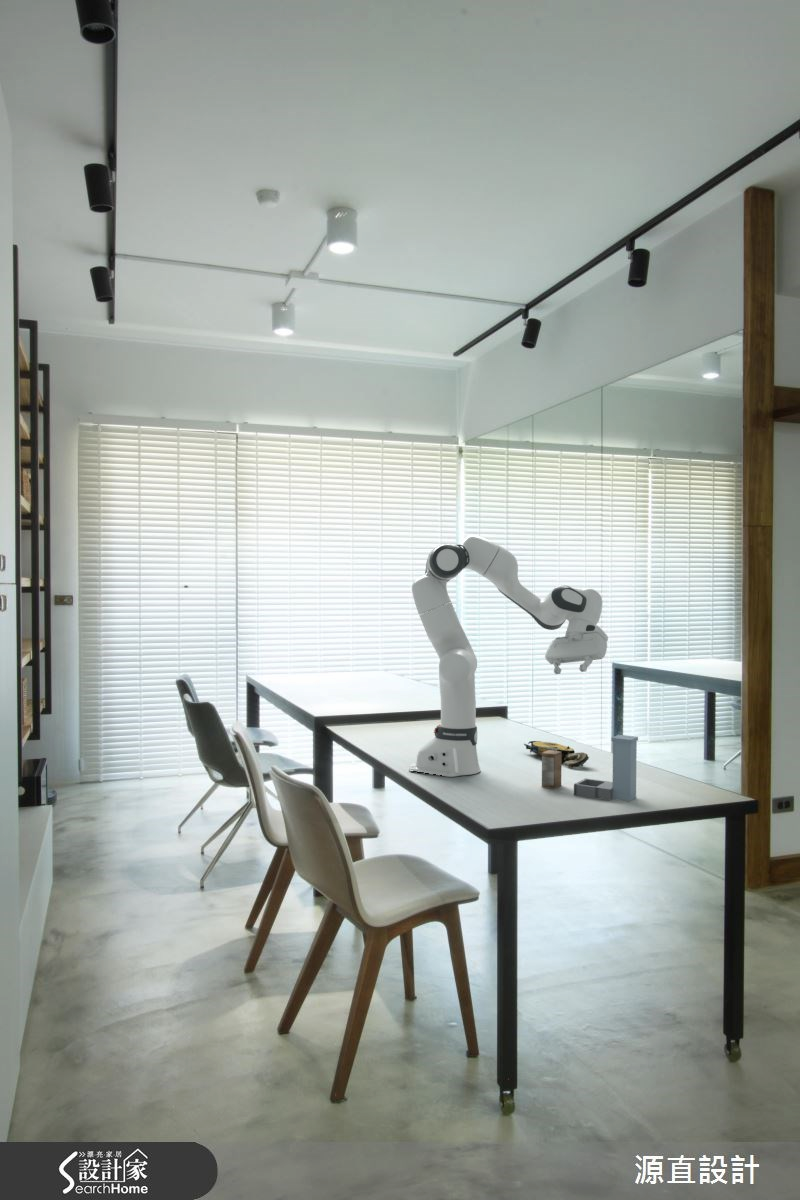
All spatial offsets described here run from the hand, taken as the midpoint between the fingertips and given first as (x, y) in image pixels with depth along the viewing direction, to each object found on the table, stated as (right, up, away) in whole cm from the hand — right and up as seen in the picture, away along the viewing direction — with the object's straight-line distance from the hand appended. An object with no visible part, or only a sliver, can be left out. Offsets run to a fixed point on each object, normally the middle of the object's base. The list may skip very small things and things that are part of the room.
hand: (569, 671), depth 258 cm
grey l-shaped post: (+6, -33, -21) cm, 40 cm away
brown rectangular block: (-7, -33, -11) cm, 35 cm away
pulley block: (+2, -32, +25) cm, 41 cm away
